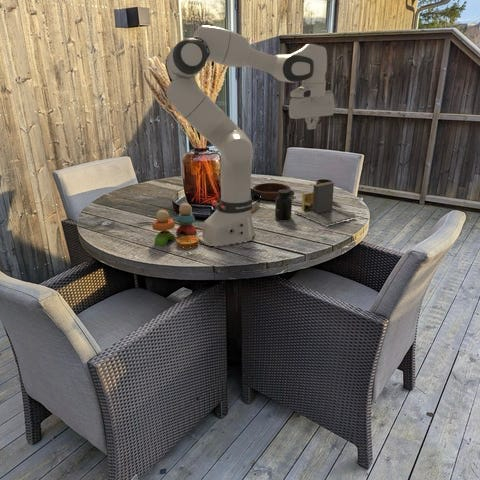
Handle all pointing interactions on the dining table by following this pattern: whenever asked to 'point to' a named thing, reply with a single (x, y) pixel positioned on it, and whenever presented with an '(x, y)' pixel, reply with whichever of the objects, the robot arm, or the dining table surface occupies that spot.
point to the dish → (271, 190)
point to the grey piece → (324, 217)
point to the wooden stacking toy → (186, 225)
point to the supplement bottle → (283, 205)
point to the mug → (322, 181)
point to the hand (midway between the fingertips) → (311, 129)
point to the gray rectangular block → (322, 197)
